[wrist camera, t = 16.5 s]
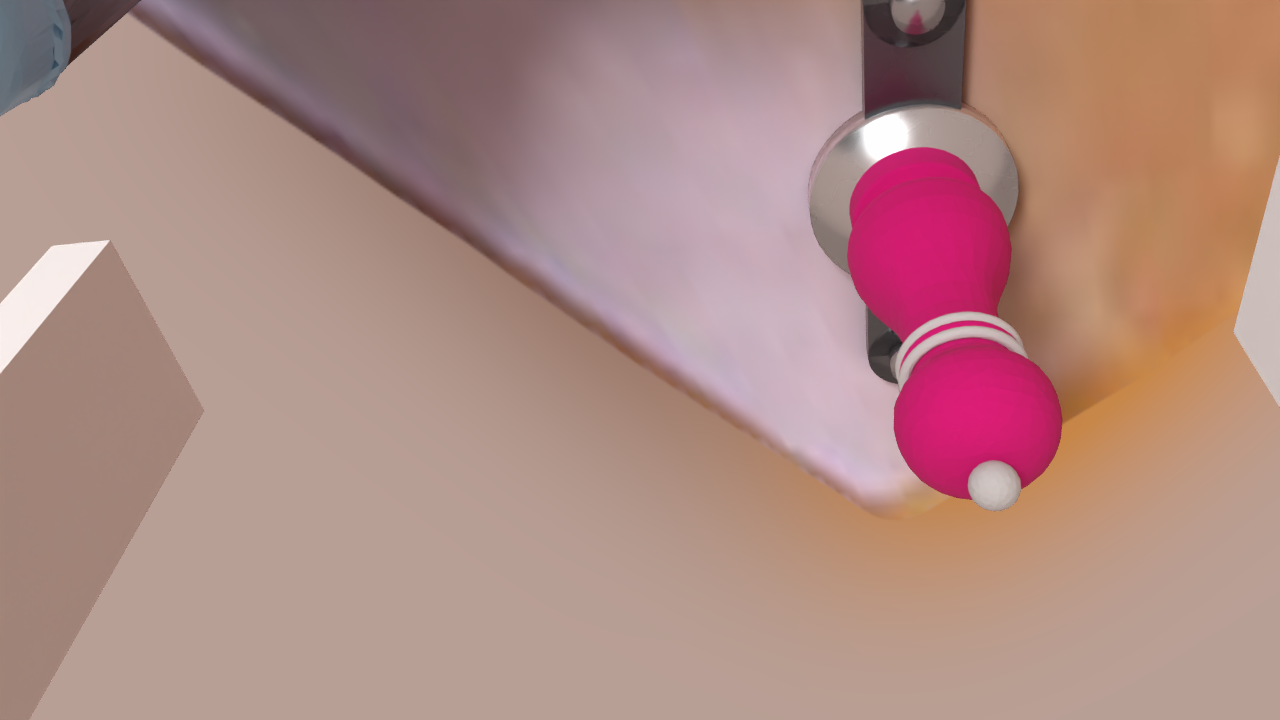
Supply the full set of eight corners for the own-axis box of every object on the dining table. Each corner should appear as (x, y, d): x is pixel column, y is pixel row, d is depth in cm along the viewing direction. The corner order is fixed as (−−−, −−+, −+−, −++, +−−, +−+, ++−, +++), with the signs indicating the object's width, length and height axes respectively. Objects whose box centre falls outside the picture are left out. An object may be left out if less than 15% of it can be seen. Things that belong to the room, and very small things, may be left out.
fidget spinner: (995, 365, 59) (1003, 391, 58) (817, 379, 61) (820, 404, 59) (1033, -76, 44) (1045, -59, 42) (794, -45, 46) (797, -27, 44)
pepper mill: (829, 152, 50) (881, 444, 34) (986, 121, 48) (1114, 412, 33) (848, 274, 54) (902, 582, 39) (992, 249, 53) (1108, 559, 37)
